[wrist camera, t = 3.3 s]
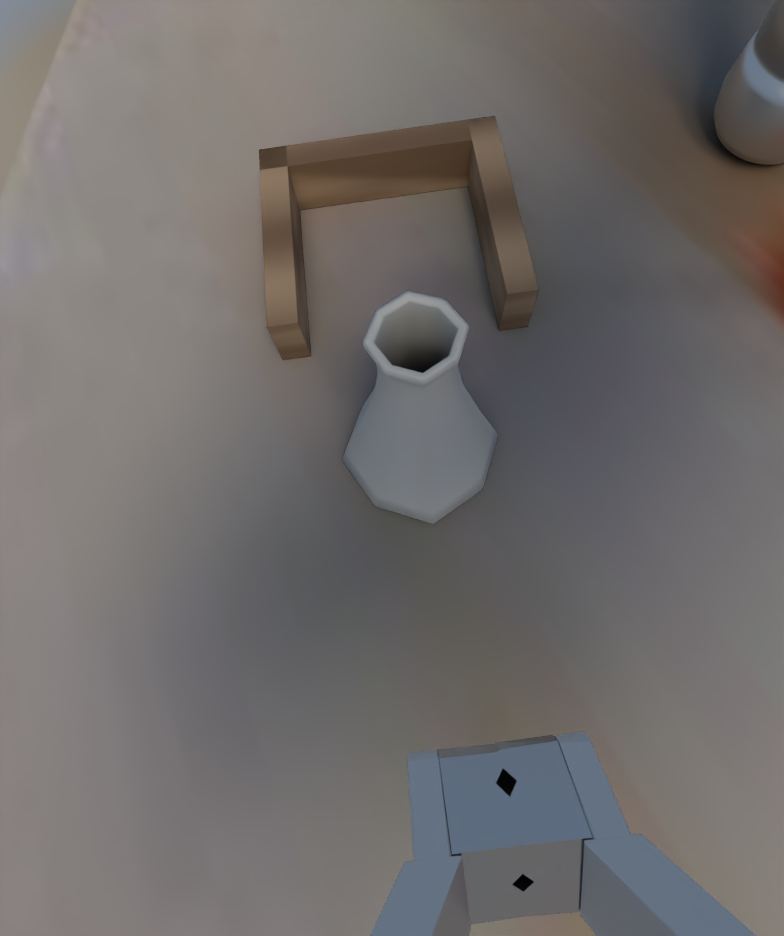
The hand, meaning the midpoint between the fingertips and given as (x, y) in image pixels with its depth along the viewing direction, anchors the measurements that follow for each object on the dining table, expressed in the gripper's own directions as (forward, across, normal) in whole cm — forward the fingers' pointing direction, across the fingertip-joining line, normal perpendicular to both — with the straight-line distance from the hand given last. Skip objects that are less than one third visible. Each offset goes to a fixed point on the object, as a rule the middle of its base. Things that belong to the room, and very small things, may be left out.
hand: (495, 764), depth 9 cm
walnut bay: (+26, 0, -6) cm, 26 cm away
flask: (+18, 0, +2) cm, 18 cm away
